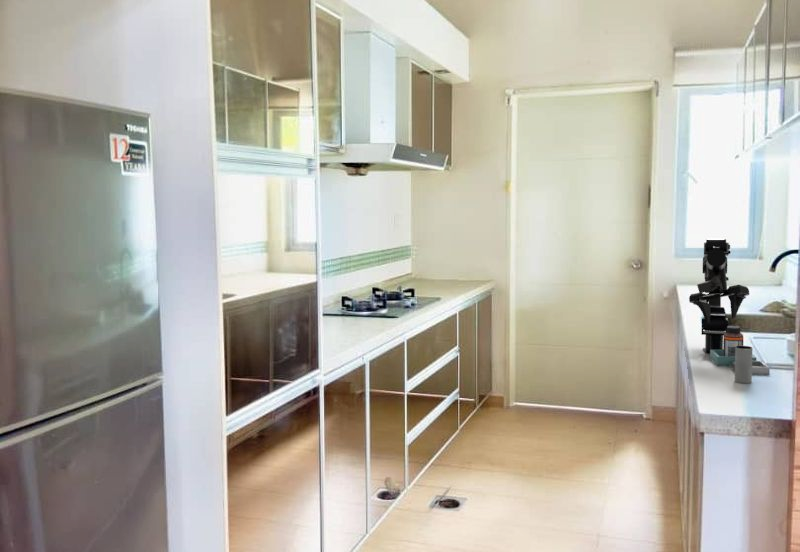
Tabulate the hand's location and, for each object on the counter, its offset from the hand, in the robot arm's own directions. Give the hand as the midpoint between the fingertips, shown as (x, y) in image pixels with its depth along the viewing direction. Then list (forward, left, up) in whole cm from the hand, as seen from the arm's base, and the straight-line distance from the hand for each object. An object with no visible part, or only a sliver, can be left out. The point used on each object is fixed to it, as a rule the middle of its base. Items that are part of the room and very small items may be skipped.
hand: (720, 320), depth 245 cm
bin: (+3, +3, -13) cm, 14 cm away
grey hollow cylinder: (+29, +1, -14) cm, 32 cm away
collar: (+15, +6, -13) cm, 21 cm away
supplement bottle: (+3, +3, -13) cm, 14 cm away
